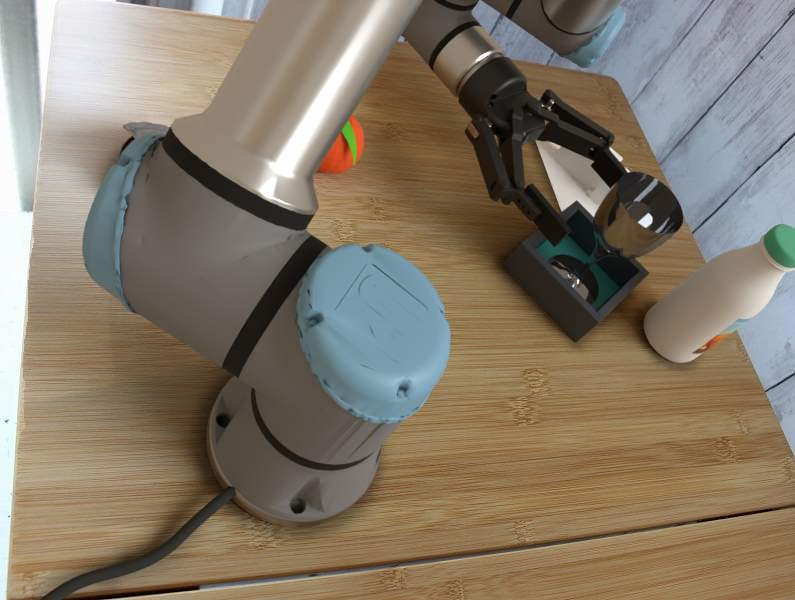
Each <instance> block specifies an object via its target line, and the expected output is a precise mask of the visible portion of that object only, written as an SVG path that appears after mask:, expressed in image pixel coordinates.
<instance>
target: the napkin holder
mask: <svg viewBox="0 0 795 600" xmlns="http://www.w3.org/2000/svg"><path fill="white" fill-rule="evenodd" d="M534 142H535V144H536V146H537V149H538V153H539V155H540V157H541V160H542V163H543V165H544V168H545V171H546V174H547V176H548V178H549V182H550V185H551V187H552V190H553V193H554V195H555V198H556V201H557V203H558V206H559V208H560V211H561V212H562V211H563V210H565V209H566V208H567V207H569V206H570V205H571V204H572V203H574V202H575V201H576V200H577V201H578V202H579V203H580V204H581V205H582V206H583V207H584V208H585V209H586V210H587V211H588V212H589V213H590V214H591V215H592V216H593V217H594V216H595V213H596V211H597V208H598V206H599V205H600V203H601V201H602V199H603V198H604V196H605V195H606V193H607V192H608V191H609V190H610V188H609V187H608V186H607V184H606V183H605V182H604V181H603V180H602V179H601V177H600V176H599V175H598V174H597V173H596V172H595V171H594V169H593V168H592V167H591V164H592V163H593V162H594V161H592V160H590V159H588V158H586V157H584V156H581V155H579V154H577V153H575V152H572V151H570V150H568V149H566V148H564V147H561V146H559V145H557V144H555V143H552V142H550V141H544V142H542V141H539V140H535V141H534ZM591 149H592V148H591ZM592 150H593V149H592ZM610 151H611V152H612V153H613V154H614V155H615V157H616V158H617V159H618V160H619V161H620V162H621V163H622V161H623V160H624V157H622V156H621V155H620V154H619V153H618V152H616V150H614V149H613V148H612V146H610ZM625 169H626V171H627V172H628V173H629V172H631V171H630V170H629V169H628V168H627V167H625Z"/></svg>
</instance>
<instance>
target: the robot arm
mask: <svg viewBox="0 0 795 600" xmlns="http://www.w3.org/2000/svg"><path fill="white" fill-rule="evenodd" d="M479 1H482V2H483V3H484V4H485V5H487V6H489V7H490V8H492V9H493V10H494V11H496V12H498V13H499V14H500V15H502V16H503V17H505V18H506V19H508V20H509V21H511V22H512V23H514V24H515V25H516V26H517V27H519V28H520V29H522V30H523V31H525V32H526V33H528V34H529V35H531V36H532V37H533V38H535V39H536V40H538V41H539V42H540V43H542V44H543V45H545V46H546V47H548V48H549V49H550V50H552V51H554V52H555V54H557V56H559V57H560V58H563V59H564V58H565V59H566V60H568V61H569V62H571V63H573V64H575V66H578V67H579V68H582V69H588V68H591V67H593V66H594V65H595V64H596V63H597V62H598V61H599V59H600V58H601V57H602V56H603V55H604V53H605V52H606V50H608V48H609V47H610V45H611V44H612V43H613V41H614V39H615V38H616V36H617V35H618V33H619V32H620V31H621V29H622V28H623V25H624V24H625V22H626V19H627V18H626V17H627V13H626V11H625V9H624V7H623V6H621V4H622V3H624V1H625V0H269V1H268V2H267V4H266V6H265V8H264V9H263V10H262V12H261V14H260V16H259V17H258V20H257V21H256V23H255V24H254V26H253V29H252V30H251V32H250V34H249V35H248V37H247V39H246V40H245V42H244V44H243V45H242V48H241V50H240V51H239V53H238V54H237V56H236V58H235V59H234V62H233V63H232V65H231V67H230V69H229V70H228V72H227V74H226V75H225V77H224V78H223V81H222V83H221V84H220V86H219V88H218V89H217V91H216V93H215V95H214V97H213V98H212V100H211V102H210V103H209V105H208V106H207V108H205V110H203V111H202V112H199V113H195V114H190V115H187V116H182V117H178V118H175V119H174V120H173V121H172V123H171V124H170V126H169V127H170V128H169V130H168V132H167V133H166V134H157V133H148V134H144V135H142V136H140V137H138V138H137V139H135V140H134V141H133V142H131V143H130V144H129V145H128V146H127V147H126V149H125V150H124V151H123V152H122V153H121V156H120V159H119V161H118V160H117V163H116V164H112V165H111V166H110V168H109V169H108V171H107V173H106V174H105V176H104V177H103V179H102V181H101V183H100V185H99V187H98V189H97V191H96V194H95V196H94V198H93V200H92V203H91V205H90V208H89V211H88V214H87V218H86V221H85V224H84V229H83V234H82V242H81V251H82V252H81V253H82V258H83V261H84V262H83V263H84V267H85V269H86V272H87V274H88V276H89V277H90V279H91V280H92V281H93V282H94V283H95V284H97V285H98V286H99V287H101V288H102V289H103V290H105V291H106V292H107V293H108V294H111V296H113V297H114V298H116V299H117V300H118V301H120V302H121V304H122V306H124V308H125V309H126V310H127V311H129V312H130V313H132V314H136V315H139V316H140V317H142V318H144V319H145V320H147V321H148V322H150V323H152V324H153V325H155V326H156V327H158V328H159V329H160V330H162V331H164V332H166V333H167V334H169V335H170V336H172V337H173V338H174V339H176V340H178V341H180V342H181V343H183V344H184V345H186V346H187V347H189V349H192V350H193V351H195V352H196V353H198V354H200V355H201V356H203V357H204V358H205V359H207V360H209V361H210V362H212V363H213V364H215V365H216V366H218V367H220V368H222V369H223V370H225V371H226V372H228V373H230V374H231V375H233V376H232V377H230V378H229V380H228V381H226V383H225V385H224V386H223V387H222V389H221V390H220V392H219V394H218V395H217V398H216V400H215V402H214V404H213V406H212V407H211V411H210V413H209V415H208V416H209V417H208V420H207V425H206V430H205V431H206V433H205V444H206V445H205V447H206V453H207V457H208V461H209V464H210V468H211V470H212V472H213V475H214V476H215V479H216V481H217V482H218V483H219V484H218V485H220V487H221V488H222V489H223V490H222V491H221V492H220V493H218V495H216V496H215V497H213V498H212V499H211V500H210V501H209V502H208V503H207V504H205V505H204V506H203V507H202V508H201V509H199V510H198V511H197V512H196V513H195V514H194V515H193V516H191V518H190V519H188V520H187V521H186V522H185V523H184V524H183V525H182V526H181V527H179V529H178V530H177V531H176V532H175V533H174V534H173V535H172V536H170V538H168V539H167V540H166V541H165V542H163V543H162V544H161V545H159V546H157V547H156V548H154V549H152V550H151V551H149V552H147V553H145V554H143V555H140V556H138V557H135V558H133V559H130V560H126V561H122V562H120V563H116V564H112V565H108V566H104V567H100V568H96V569H93V570H90V571H88V572H85V573H82V574H80V575H77V576H74V577H72V578H70V579H68V580H67V581H64V582H62V583H61V584H60V585H58V586H56V587H54V588H53V589H52V590H51V591H49V592H47V593H46V594H45V595H44V596H42V597H41V598H39V600H63V599H65V598H66V597H68V596H69V595H71V594H73V593H75V592H77V591H79V590H81V589H84V588H86V587H89V586H92V585H94V584H98V583H102V582H104V581H108V580H112V579H116V578H120V577H125V576H127V575H130V574H133V573H137V572H139V571H142V570H144V569H146V568H148V567H151V566H153V565H154V564H156V563H158V562H160V561H162V560H164V559H165V558H167V557H168V556H169V555H171V554H172V553H173V552H175V550H177V549H178V548H179V547H180V546H181V545H182V544H183V543H184V542H185V541H186V540H187V539H188V538H189V537H191V535H192V534H193V533H194V532H196V530H197V529H199V528H200V526H202V525H203V524H204V523H205V522H207V520H208V519H210V518H211V517H212V516H213V515H215V513H217V512H218V511H219V510H220V509H222V508H223V507H224V506H226V504H227V503H228V502H230V501H231V500H232V501H233V502H234V503H235V504H236V505H237V506H238V507H240V508H241V509H242V510H244V511H245V512H246V513H248V514H250V515H252V516H253V517H255V518H257V519H259V520H261V521H264V522H266V523H269V524H272V525H276V526H280V527H288V528H308V527H315V526H318V525H322V524H325V523H327V522H330V521H332V520H334V519H337V518H338V517H340V516H342V515H343V514H345V513H346V512H347V511H349V509H351V508H352V507H353V506H355V504H357V502H358V501H359V500H360V499H361V498H362V497H363V496H364V495H365V493H366V492H367V491H368V490H369V488H370V487H371V485H372V484H373V481H374V479H375V477H376V475H377V472H378V469H379V466H380V463H381V457H382V454H383V453H382V452H383V451H382V448H383V446H384V443H385V442H386V441H387V439H389V437H391V435H392V434H393V433H395V431H397V430H398V428H399V427H400V426H401V425H402V424H403V423H404V422H405V421H406V420H407V419H408V418H410V417H412V416H414V415H415V414H416V413H417V412H418V411H419V410H420V409H421V408H422V407H423V406H424V404H426V402H427V400H428V399H429V397H430V395H431V393H432V391H433V389H434V388H435V387H436V385H437V384H438V383H439V381H440V380H441V378H442V376H443V374H444V373H445V370H446V368H447V365H448V362H449V359H450V354H451V353H450V352H451V345H452V343H451V342H452V341H451V340H452V335H451V327H450V323H449V321H448V320H447V317H446V315H445V314H446V313H445V305H444V303H443V301H442V298H441V297H440V295H439V292H438V291H437V290H436V288H435V286H434V285H433V283H432V282H431V281H430V279H429V278H428V277H427V276H426V275H425V273H423V271H422V270H420V268H419V267H418V266H416V265H415V264H414V263H413V262H412V261H410V260H409V259H407V258H406V257H405V256H403V255H401V254H400V253H398V252H396V251H394V250H392V249H390V248H388V247H385V246H382V245H379V244H375V243H368V244H367V245H366V246H361V244H359V243H358V242H351V243H350V242H349V243H346V244H341V245H339V246H336V247H334V248H332V247H331V246H330V245H328V244H327V243H325V242H323V241H322V239H321V240H320V238H317V236H314V235H313V234H312V233H310V232H309V231H308V230H307V228H308V227H309V225H310V223H311V222H312V221H313V218H314V217H315V216H316V214H317V213H318V210H319V209H320V205H319V201H318V197H317V196H318V195H317V192H316V189H315V184H314V182H315V181H314V180H315V174H316V173H317V171H319V170H318V168H319V167H320V165H321V163H322V162H323V160H324V159H325V157H326V155H327V154H328V152H329V151H330V149H331V147H332V146H333V144H334V143H335V141H336V139H337V138H338V136H339V135H340V133H341V131H342V130H343V128H344V126H345V125H346V123H347V122H348V120H349V118H350V117H351V115H352V116H353V113H354V112H355V111H356V109H357V108H358V106H359V104H360V102H361V101H362V99H363V97H365V95H366V92H367V91H368V90H369V88H370V86H371V85H372V83H373V81H374V80H375V79H376V76H377V75H378V74H379V72H380V70H381V69H382V67H383V65H384V64H385V62H386V60H387V59H388V57H389V56H390V54H391V53H392V51H393V49H394V48H395V46H396V44H397V43H398V41H399V39H401V37H402V38H403V39H404V40H405V41H406V42H407V44H409V45H410V46H411V47H412V49H413V50H414V51H415V52H416V53H417V54H418V55H419V56H420V58H421V59H422V60H423V61H424V62H425V63H426V64H427V65H428V67H429V69H430V70H431V71H432V72H433V73H434V74H435V75H436V77H437V78H438V79H439V80H440V82H442V84H443V85H444V86H445V87H446V89H447V90H448V92H449V93H451V95H452V96H453V98H456V99H458V104H459V105H460V107H462V109H463V110H464V111H465V112H466V114H467V116H469V118H471V120H470V121H469V123H468V125H467V126H466V127H465V129H464V132H463V133H464V135H465V136H466V137H467V139H468V141H469V142H470V144H471V145H472V146H473V149H474V152H475V153H474V154H475V156H476V159H477V162H478V166H479V169H480V172H481V175H482V177H483V181H484V184H485V187H486V191H487V194H488V197H489V198H490V200H491V201H493V202H499V201H500V202H501V203H502V204H503V205H504V206H510V205H511V204H512V203H514V205H515V206H516V208H517V209H518V210H519V211H520V212H521V214H522V215H523V216H524V217H525V218H526V220H528V221H529V222H531V223H533V224H534V225H535V227H536V228H537V230H540V231H541V232H542V233H543V235H544V236H545V237H546V238H547V239H548V241H549V242H550V243H551V244H552V246H553V247H555V246H557V245H559V244H560V243H561V242H562V240H563V239H564V238H565V237H566V236H567V235H568V234H569V233H570V232H571V231H572V230H571V228H570V227H569V226H568V225H567V224H566V222H565V221H564V220H563V219H562V218H561V216H560V215H559V213H558V211H557V210H556V209H555V208H554V207H553V206H552V205H551V203H550V202H549V201H548V200H547V198H546V197H545V196H544V195H543V194H542V192H541V191H540V190H539V189H538V187H537V186H536V185H535V184H534V183H533V182H532V183H529V184H527V185H526V180H525V179H526V178H525V168H524V167H525V166H524V157H523V156H524V155H523V146H525V145H526V143H532V142H536V141H535V140H537V141H542V142H544V141H545V142H552V143H555V144H557V145H559V146H561V147H564V148H566V149H568V150H570V151H572V152H575V153H577V154H579V155H581V156H584V157H586V158H588V159H590V160H592V161H594V162H593V163H592V164H591V167H592V168H593V169H594V171H595V172H596V173H597V174H598V175H599V176H600V177H601V179H602V180H603V181H604V182H605V183H606V184H607V186H608V187H609V188H610V189H611V187H612V186H613V185H614V184H615V183H616V182H617V181H618V180H619V178H620V177H621V176H623V175H624V174H626V173H628V172H627V171H626V169H625V168H626V166H624V165H623V163H622V161H621V162H620V161H619V160H618V159H617V158H616V157H615V155H614V154H613V153H612V152H611V151H610V147H612V146H613V144H614V143H615V142H614V141H615V140H616V137H615V135H614V134H613V133H612V132H610V131H609V130H608V129H606V128H604V127H603V126H602V125H600V124H598V123H596V121H594V120H592V119H591V118H590V117H588V116H586V115H585V114H583V113H582V112H580V111H578V110H577V109H576V108H574V107H572V105H569V103H568V104H567V103H566V102H565V101H563V100H562V98H560V97H559V96H558V95H557V94H556V93H555V92H554V91H553V90H552V89H550V88H547V89H545V90H544V92H543V93H542V94H541V96H539V97H537V98H536V97H535V96H533V95H532V94H531V93H529V91H528V81H527V80H528V79H527V77H526V75H525V74H524V73H523V72H522V71H521V69H520V68H519V67H518V66H517V65H516V63H515V62H513V60H512V59H511V58H510V57H508V56H506V53H505V50H504V49H503V48H502V47H501V46H500V45H499V44H498V43H497V41H496V40H495V39H494V37H492V36H491V35H490V34H489V32H488V31H487V30H486V29H485V28H484V27H483V25H481V23H480V22H479V21H478V20H477V18H476V17H475V16H474V15H473V13H472V12H473V10H474V9H475V8H476V7H477V6H478V3H479ZM546 122H547V123H546ZM496 138H497V139H496ZM591 148H592V149H593V150H592V149H591ZM525 186H526V187H525Z"/></svg>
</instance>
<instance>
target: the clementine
mask: <svg viewBox="0 0 795 600" xmlns="http://www.w3.org/2000/svg"><path fill="white" fill-rule="evenodd" d="M364 147H365V135H364V131H363V129H362V126H361V124H360V122H359V121H358V120H357V118H356V117H354V116H353V114H352V115H351V117H350V118H349V120H348V122H347V123H346V125H345V126H344V128H343V130H342V131H341V133H340V135H339V136H338V138H337V139H336V141H335V143H334V144H333V146H332V147H331V149H330V151H329V152H328V154H327V155H326V157H325V159H324V160H323V162H322V163H321V165H320V167H319V168H318V170H317V171H319V172H321V173H325V174H341V173H343V172H346V171H348V170H350V169H351V168H352V167H353V169H354V168H355V165H356V163H358V161H359V159H360V158H361V157H362V154H363V151H364Z"/></svg>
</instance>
